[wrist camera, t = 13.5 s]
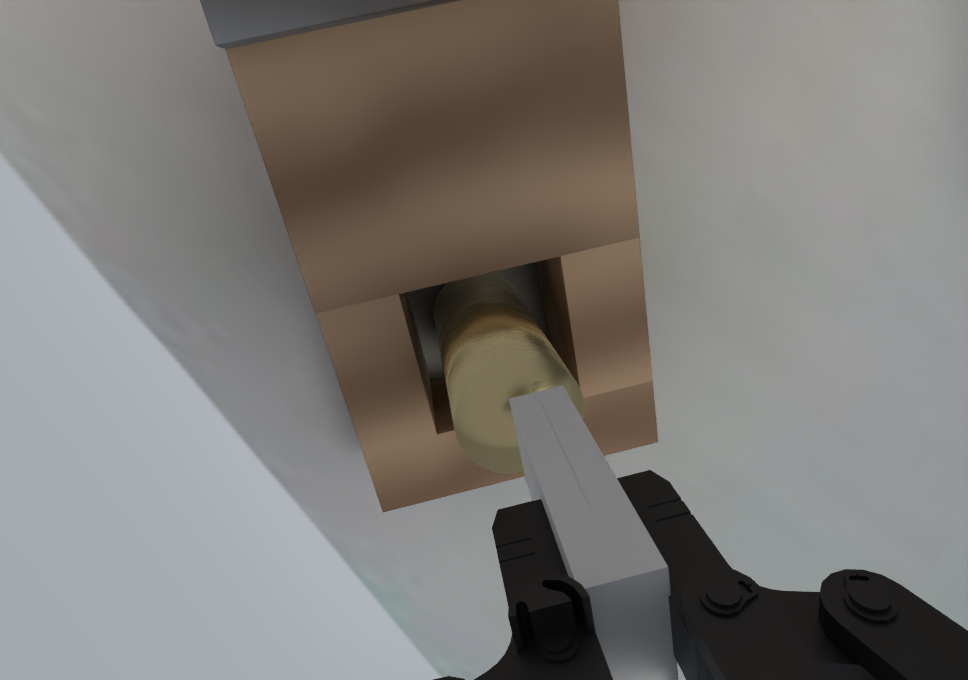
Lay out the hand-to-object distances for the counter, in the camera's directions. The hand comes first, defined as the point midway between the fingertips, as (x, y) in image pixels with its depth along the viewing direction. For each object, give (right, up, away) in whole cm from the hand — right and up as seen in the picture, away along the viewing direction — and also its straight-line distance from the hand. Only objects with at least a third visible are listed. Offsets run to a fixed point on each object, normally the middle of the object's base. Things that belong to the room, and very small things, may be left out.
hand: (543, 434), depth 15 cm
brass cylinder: (-2, +4, +11) cm, 12 cm away
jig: (-3, +8, +9) cm, 12 cm away
